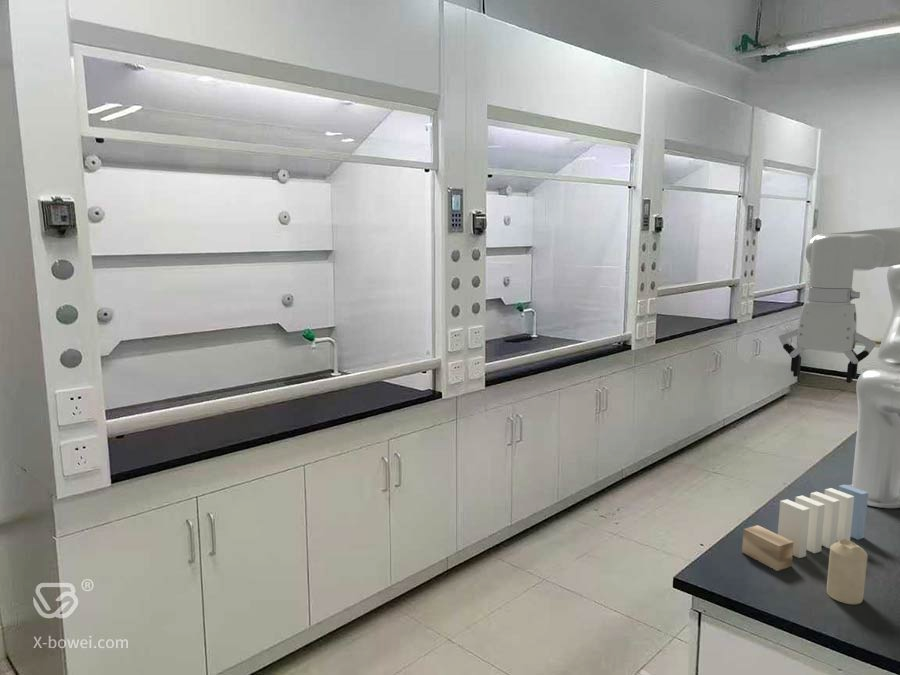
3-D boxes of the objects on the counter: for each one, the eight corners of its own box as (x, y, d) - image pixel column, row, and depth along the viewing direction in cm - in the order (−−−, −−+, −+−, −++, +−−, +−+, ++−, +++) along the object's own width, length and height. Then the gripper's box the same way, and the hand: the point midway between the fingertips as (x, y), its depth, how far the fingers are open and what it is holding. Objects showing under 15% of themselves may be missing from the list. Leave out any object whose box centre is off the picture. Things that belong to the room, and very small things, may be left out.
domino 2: (798, 540, 132) (802, 495, 130) (821, 551, 127) (825, 504, 126) (791, 542, 131) (795, 497, 129) (814, 553, 127) (818, 506, 125)
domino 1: (783, 545, 130) (787, 499, 128) (805, 556, 125) (809, 508, 124) (776, 547, 129) (780, 500, 128) (799, 558, 125) (803, 510, 123)
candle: (870, 601, 110) (876, 547, 108) (845, 607, 108) (851, 552, 107) (842, 585, 115) (847, 533, 113) (818, 590, 113) (823, 538, 112)
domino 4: (826, 532, 136) (830, 487, 134) (849, 542, 131) (854, 496, 130) (820, 534, 135) (824, 489, 133) (843, 544, 130) (848, 498, 129)
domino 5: (840, 528, 137) (844, 484, 136) (863, 537, 133) (868, 492, 131) (834, 529, 137) (838, 485, 135) (857, 539, 132) (862, 494, 131)
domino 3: (812, 536, 134) (816, 491, 132) (835, 546, 129) (839, 500, 128) (806, 538, 133) (810, 493, 131) (829, 548, 128) (833, 502, 127)
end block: (756, 548, 129) (757, 525, 128) (791, 566, 122) (793, 541, 121) (741, 552, 127) (743, 528, 126) (777, 570, 120) (778, 546, 119)
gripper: (882, 297, 126) (874, 381, 129) (786, 293, 137) (780, 370, 140) (877, 300, 120) (869, 387, 123) (778, 295, 131) (772, 376, 134)
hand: (822, 378), depth 131 cm, fingers open, 9 cm apart
